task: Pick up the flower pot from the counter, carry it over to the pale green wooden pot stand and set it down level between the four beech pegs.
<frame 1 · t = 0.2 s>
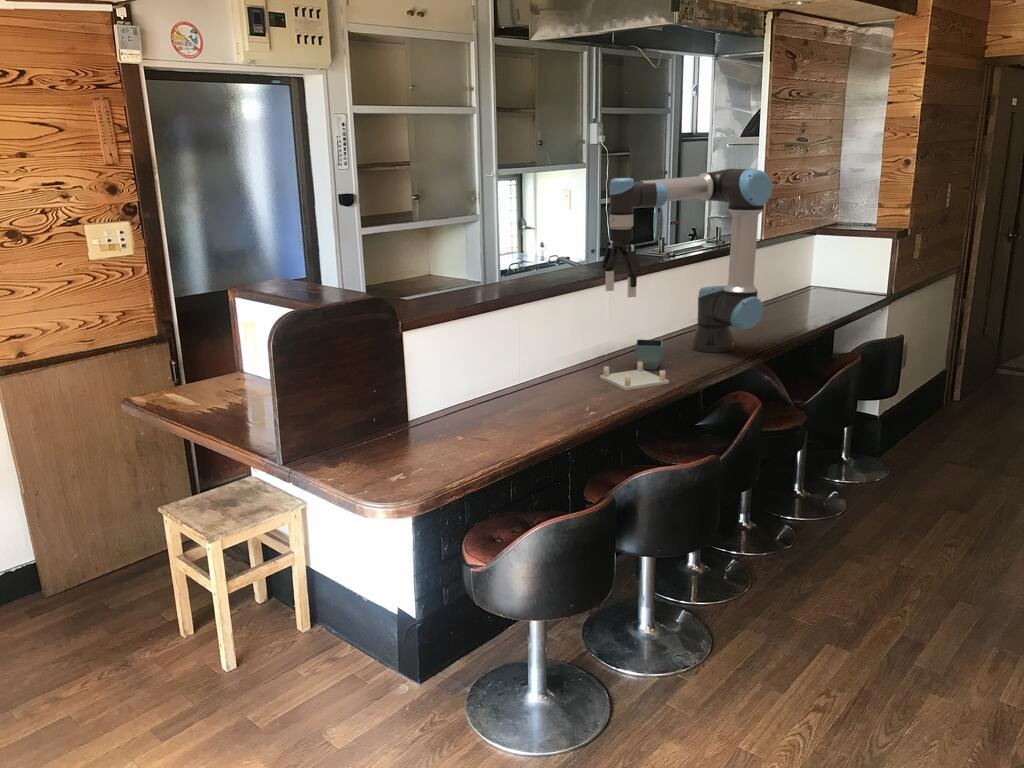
hand: (620, 293, 272), 27 cm above the bar counter, fingers open, 13 cm apart
pot stand: (633, 380, 271), on the bar counter
flower pot: (648, 368, 286), on the bar counter
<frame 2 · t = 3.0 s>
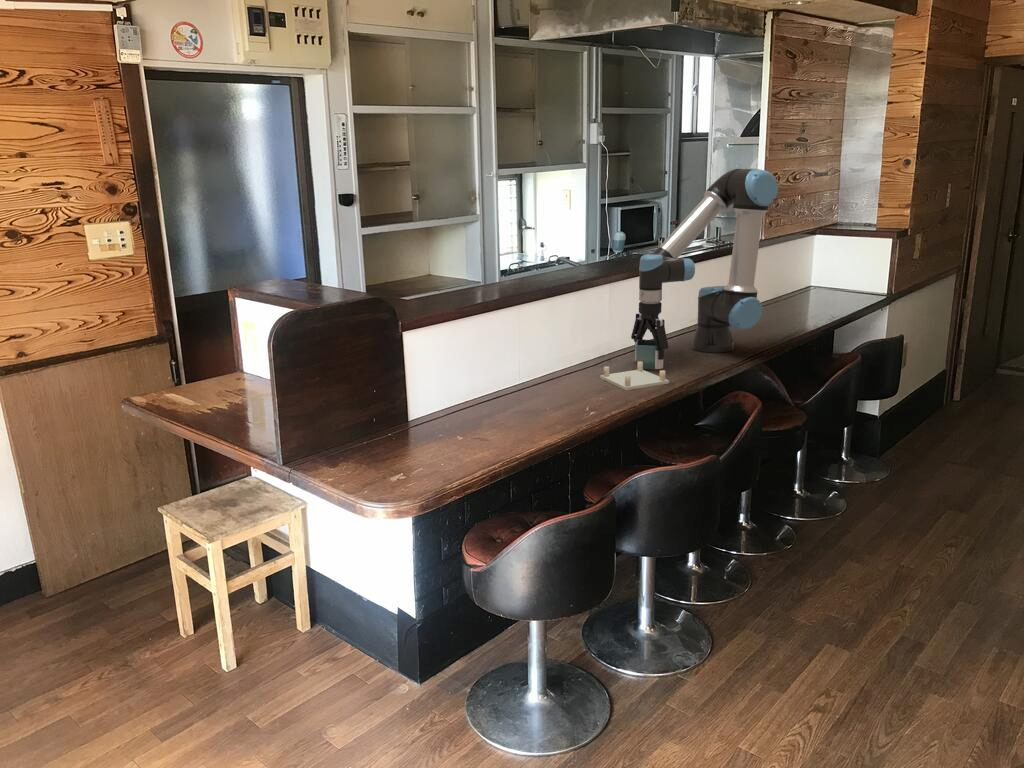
hand: (648, 364, 286), 1 cm above the bar counter, fingers closed on flower pot, 12 cm apart
flower pot: (648, 368, 286), on the bar counter, touching gripper
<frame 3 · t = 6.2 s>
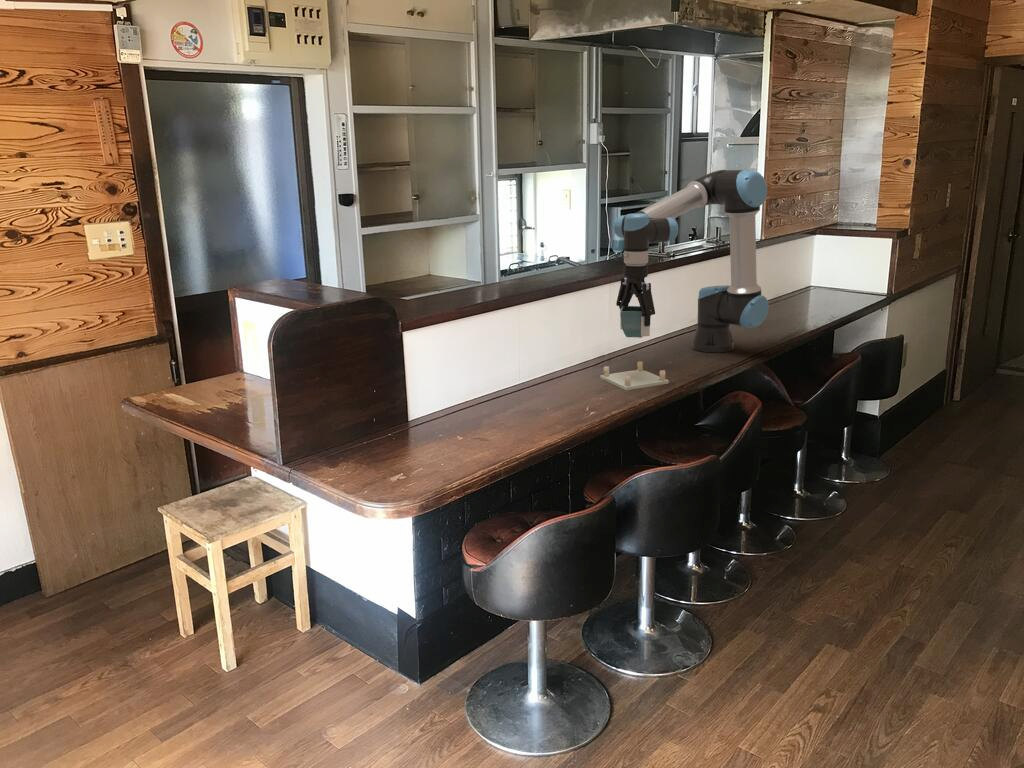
hand: (634, 332, 267), 16 cm above the bar counter, fingers closed on flower pot, 12 cm apart
flower pot: (634, 336, 267), point 15 cm above the bar counter, touching gripper
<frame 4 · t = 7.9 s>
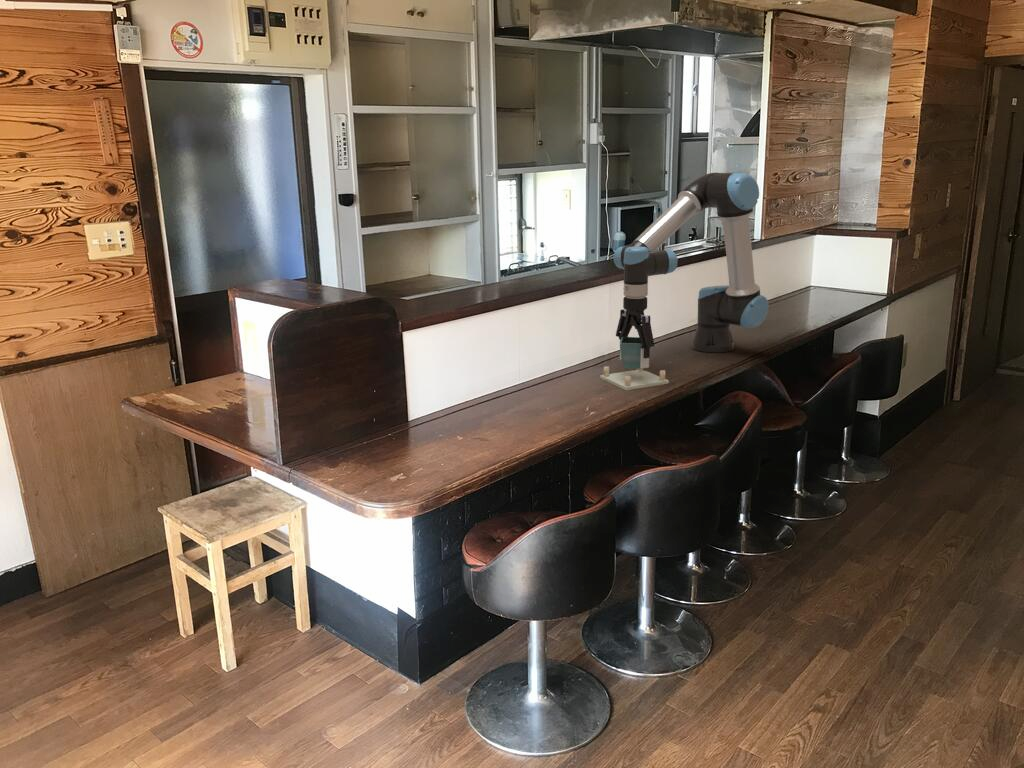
hand: (634, 363, 269), 6 cm above the bar counter, fingers closed on flower pot, 12 cm apart
flower pot: (634, 367, 270), point 4 cm above the bar counter, touching gripper
when the fingers open (4 cm above the bar counter, at t = 9.4 s): flower pot drops 2 cm, resting on pot stand.
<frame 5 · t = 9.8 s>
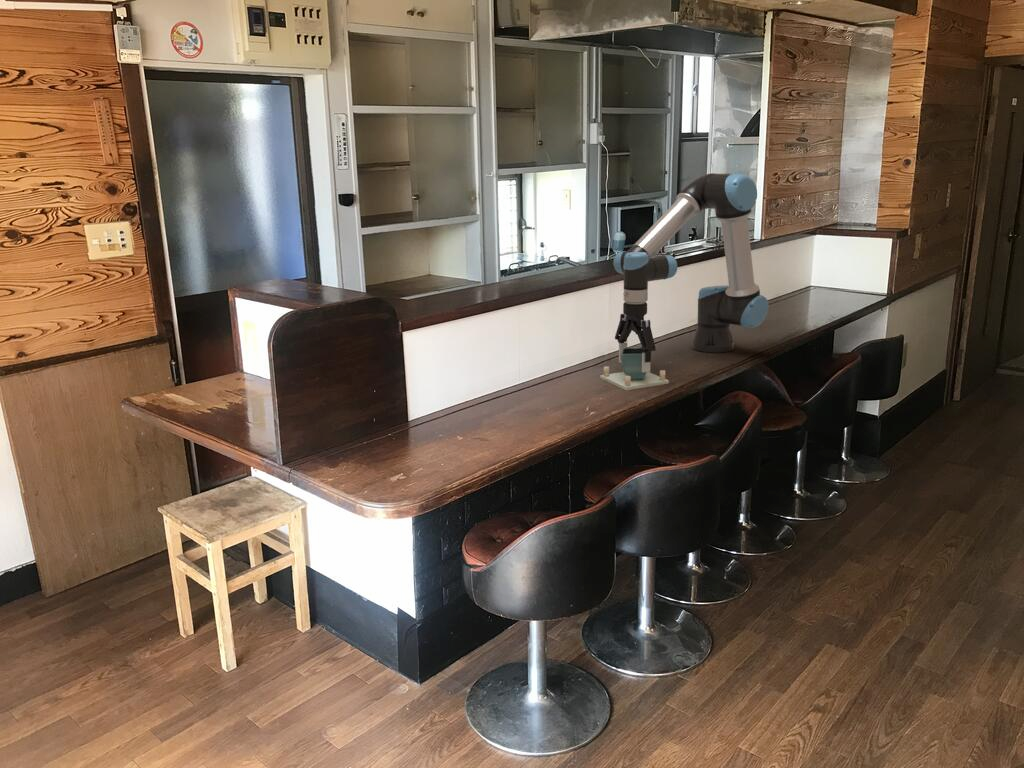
hand: (634, 366, 270), 5 cm above the bar counter, fingers open, 13 cm apart
flower pot: (636, 378, 270), point 1 cm above the bar counter, touching gripper, pot stand
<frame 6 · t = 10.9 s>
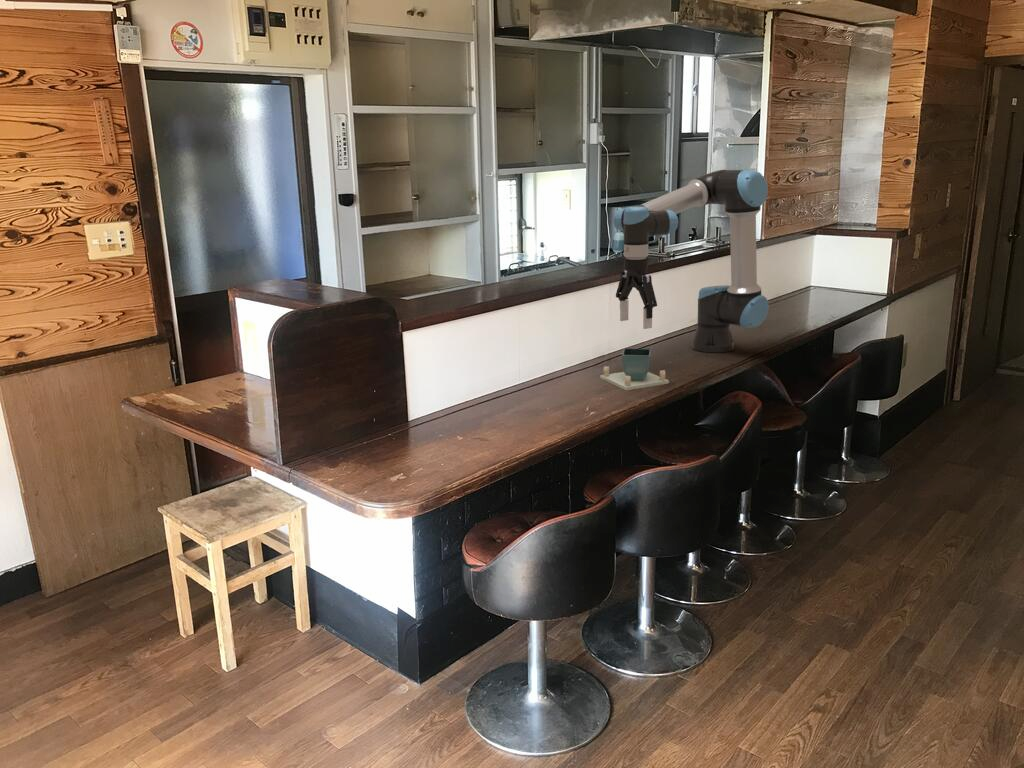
hand: (635, 324, 266), 19 cm above the bar counter, fingers open, 13 cm apart
flower pot: (636, 379, 270), point 1 cm above the bar counter, touching pot stand
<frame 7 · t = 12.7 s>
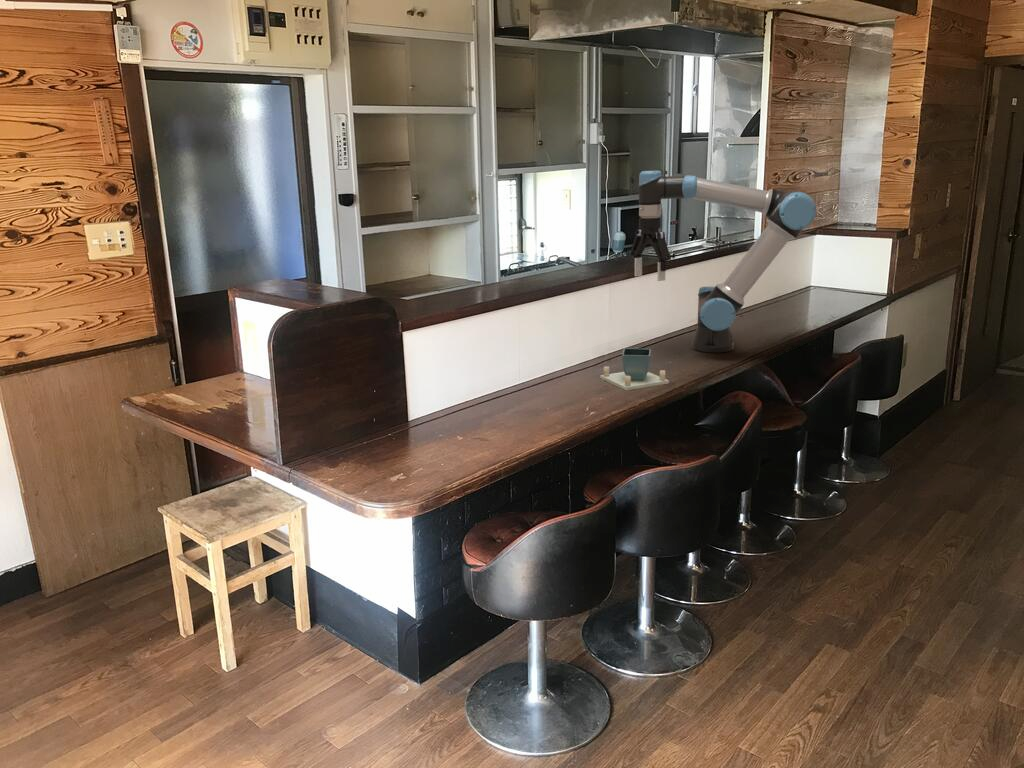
hand: (649, 278, 294), 28 cm above the bar counter, fingers open, 13 cm apart
nothing on the bar counter moved.
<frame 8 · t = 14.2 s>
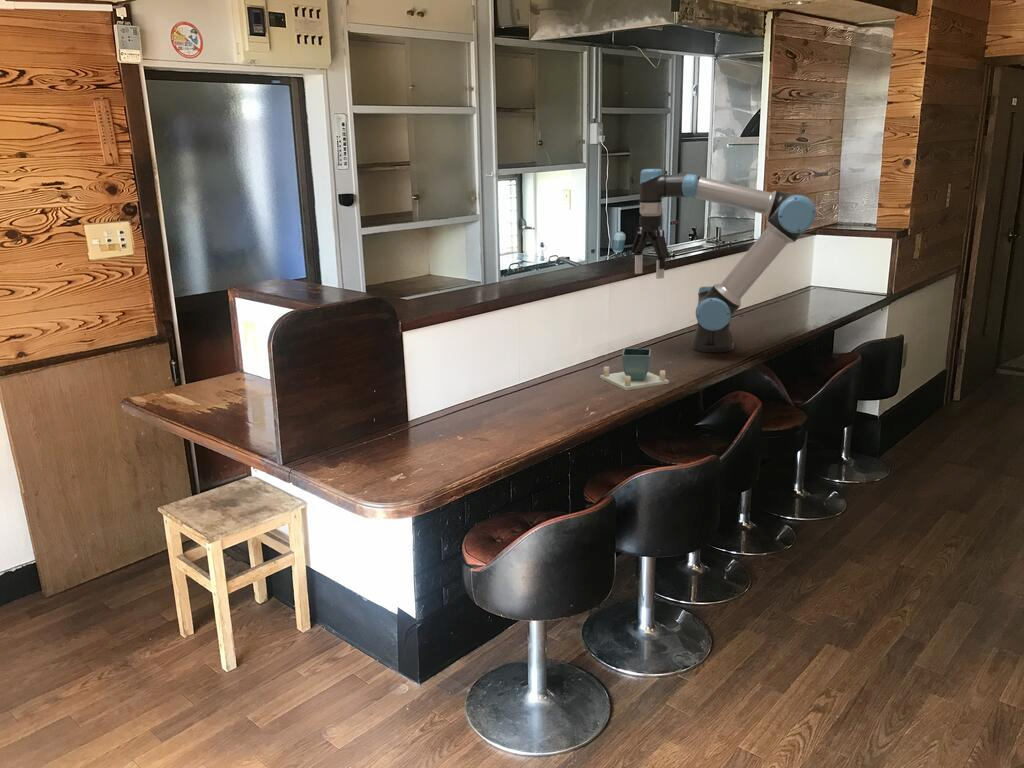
hand: (649, 275, 296), 29 cm above the bar counter, fingers open, 13 cm apart
nothing on the bar counter moved.
at the end: flower pot 1.0 cm off-centre on the pot stand, point 0.8 cm above the pot stand's base; flower pot tilted 0°; the gripper is holding nothing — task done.
